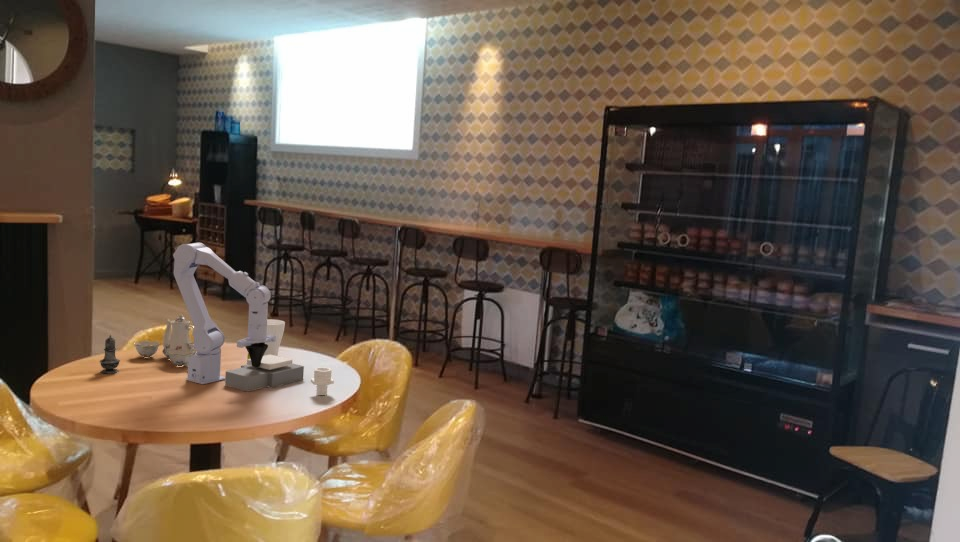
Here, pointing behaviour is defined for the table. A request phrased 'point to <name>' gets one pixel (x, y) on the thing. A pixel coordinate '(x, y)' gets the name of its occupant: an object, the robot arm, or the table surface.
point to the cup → (275, 329)
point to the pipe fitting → (322, 380)
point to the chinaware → (172, 343)
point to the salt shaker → (109, 357)
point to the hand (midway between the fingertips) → (255, 366)
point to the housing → (262, 376)
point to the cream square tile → (272, 362)
